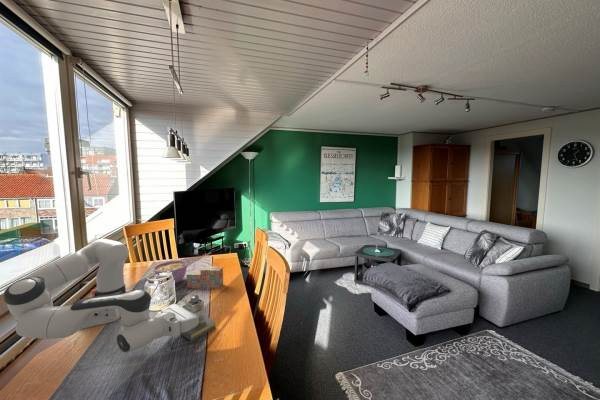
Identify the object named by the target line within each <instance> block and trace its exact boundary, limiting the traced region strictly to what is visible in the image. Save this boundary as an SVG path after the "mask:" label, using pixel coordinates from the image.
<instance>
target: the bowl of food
mask: <svg viewBox="0 0 600 400" xmlns="http://www.w3.org/2000/svg"><path fill="white" fill-rule="evenodd" d="M187 268H188V262H187V261H185V260H171V261H166V262H162V263H159V264H157V265H155V266H154V267H153V271H154V275H155V276H156V274H159V273H162V272H167V271H170V272H172V274H173V277H174V280H175V283H176V284H178V283H179V282H180V281H182V280H183V279H184V277H185V276H186V272H187Z"/></svg>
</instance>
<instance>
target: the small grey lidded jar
mask: <svg viewBox="0 0 600 400" xmlns="http://www.w3.org/2000/svg"><path fill="white" fill-rule="evenodd" d="M185 305H186V310H188V311H190V312H192V313H193V314H195V313H198V311H199V310H203V314H202V315H200V316H199V317H198V318H199V323H198V325H197V326H196V327H198V326H200V325H201V324H203V323H205V316H206V315H205V301H204V300H203V299H201V298H199V303H197V304H195V305H191V299H190V300H188V301H186V302H185ZM196 327H194V328H196ZM194 328H193V329H194Z"/></svg>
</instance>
